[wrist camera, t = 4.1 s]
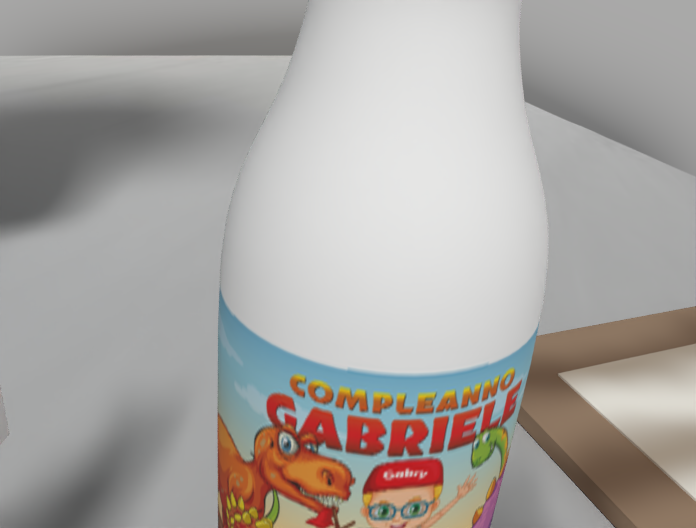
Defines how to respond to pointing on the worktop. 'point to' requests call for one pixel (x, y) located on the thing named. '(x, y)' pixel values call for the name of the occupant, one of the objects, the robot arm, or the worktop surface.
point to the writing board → (621, 415)
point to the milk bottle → (382, 274)
